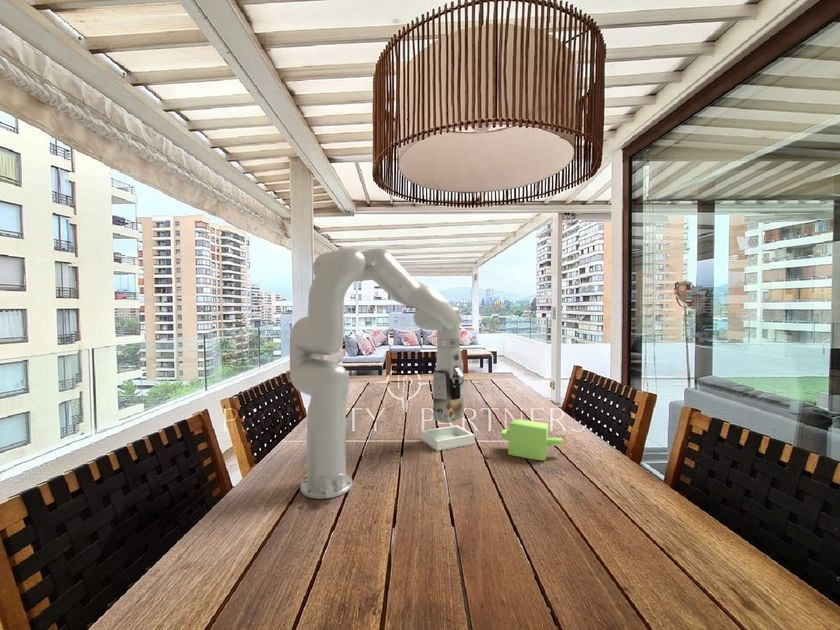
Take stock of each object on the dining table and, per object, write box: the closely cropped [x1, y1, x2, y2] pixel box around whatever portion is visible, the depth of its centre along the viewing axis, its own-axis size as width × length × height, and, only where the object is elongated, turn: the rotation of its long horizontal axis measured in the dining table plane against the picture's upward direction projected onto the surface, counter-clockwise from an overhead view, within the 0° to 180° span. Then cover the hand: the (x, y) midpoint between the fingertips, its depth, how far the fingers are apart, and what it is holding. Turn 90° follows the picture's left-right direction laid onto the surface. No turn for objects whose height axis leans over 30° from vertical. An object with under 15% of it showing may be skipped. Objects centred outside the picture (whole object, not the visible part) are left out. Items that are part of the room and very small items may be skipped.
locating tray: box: [421, 425, 476, 452], centre depth 127 cm, size 11×14×3 cm
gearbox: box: [500, 418, 564, 461], centre depth 118 cm, size 18×10×10 cm, turn 67°
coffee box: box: [432, 369, 465, 424], centre depth 127 cm, size 9×6×16 cm
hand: (448, 395), depth 127 cm, fingers closed on coffee box, 8 cm apart
